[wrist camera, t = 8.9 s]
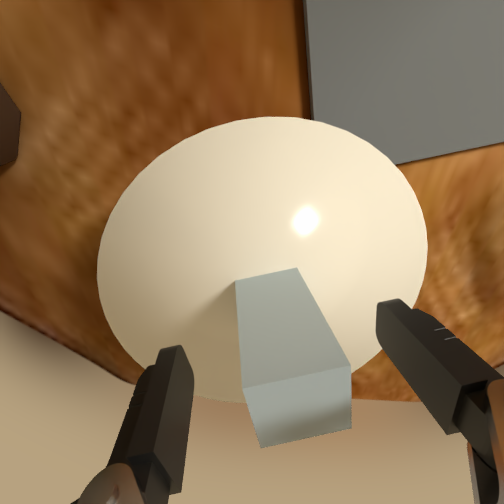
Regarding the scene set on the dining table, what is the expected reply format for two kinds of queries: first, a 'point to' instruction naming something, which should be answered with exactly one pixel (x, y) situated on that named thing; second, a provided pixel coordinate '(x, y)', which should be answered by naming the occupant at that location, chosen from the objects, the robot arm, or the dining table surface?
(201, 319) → the lid
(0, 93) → the beer bottle
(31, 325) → the dining table surface
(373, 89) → the mat
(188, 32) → the dining table surface
